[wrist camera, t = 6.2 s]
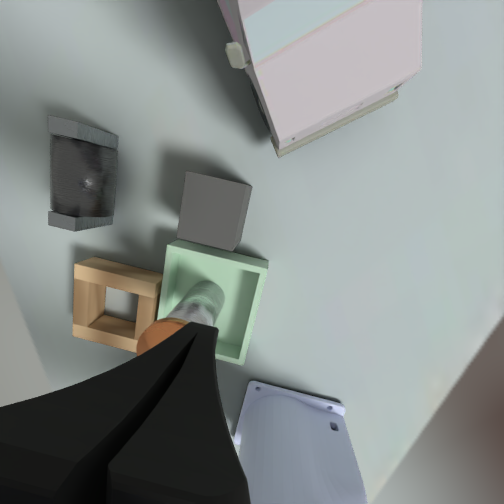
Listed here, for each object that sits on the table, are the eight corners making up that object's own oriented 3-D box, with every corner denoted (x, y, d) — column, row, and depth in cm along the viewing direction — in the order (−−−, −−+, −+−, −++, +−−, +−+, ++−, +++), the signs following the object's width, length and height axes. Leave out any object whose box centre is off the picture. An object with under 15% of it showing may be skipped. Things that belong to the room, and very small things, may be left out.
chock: (252, 186, 19) (246, 184, 15) (240, 240, 20) (232, 251, 16) (204, 175, 19) (186, 170, 15) (195, 229, 20) (176, 237, 16)
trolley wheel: (130, 139, 19) (92, 125, 15) (123, 227, 21) (88, 234, 17) (82, 128, 19) (33, 111, 15) (79, 216, 21) (35, 221, 17)
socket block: (167, 275, 21) (155, 284, 19) (158, 340, 23) (146, 355, 21) (94, 256, 22) (74, 263, 19) (90, 323, 23) (72, 336, 21)
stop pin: (233, 282, 20) (210, 334, 13) (224, 322, 21) (197, 392, 14) (189, 271, 20) (140, 315, 13) (181, 311, 22) (132, 373, 14)
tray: (268, 261, 20) (268, 269, 18) (246, 349, 22) (243, 365, 20) (178, 239, 20) (167, 244, 18) (165, 328, 23) (154, 342, 21)
